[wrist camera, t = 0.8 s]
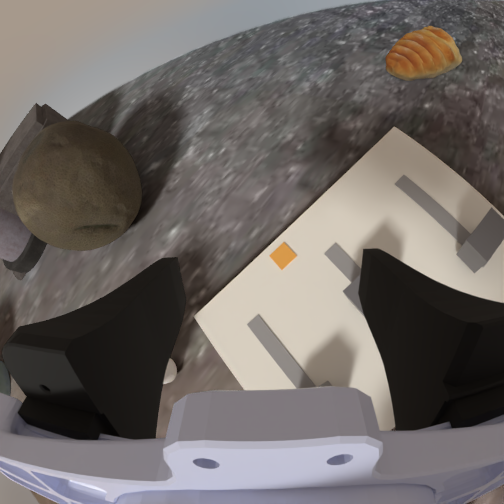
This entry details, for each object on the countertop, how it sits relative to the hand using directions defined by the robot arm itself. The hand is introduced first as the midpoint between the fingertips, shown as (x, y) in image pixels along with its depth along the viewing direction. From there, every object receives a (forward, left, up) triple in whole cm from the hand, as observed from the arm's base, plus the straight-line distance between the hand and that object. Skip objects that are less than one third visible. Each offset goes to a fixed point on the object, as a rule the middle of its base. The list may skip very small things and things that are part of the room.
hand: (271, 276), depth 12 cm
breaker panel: (-2, -3, -14) cm, 14 cm away
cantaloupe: (+25, +11, -14) cm, 31 cm away
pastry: (+11, -27, -14) cm, 33 cm away
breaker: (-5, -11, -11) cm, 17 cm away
